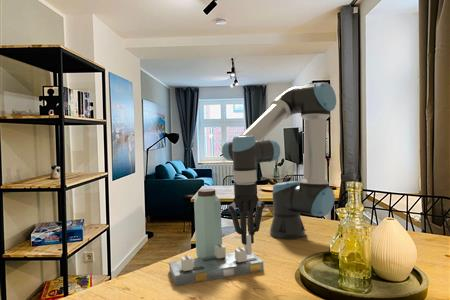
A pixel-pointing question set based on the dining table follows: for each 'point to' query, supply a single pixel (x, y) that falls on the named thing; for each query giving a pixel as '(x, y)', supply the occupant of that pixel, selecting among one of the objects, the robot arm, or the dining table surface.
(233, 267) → the console
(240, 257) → the switch
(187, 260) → the switch
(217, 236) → the water bottle
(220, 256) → the switch
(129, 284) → the dining table surface
